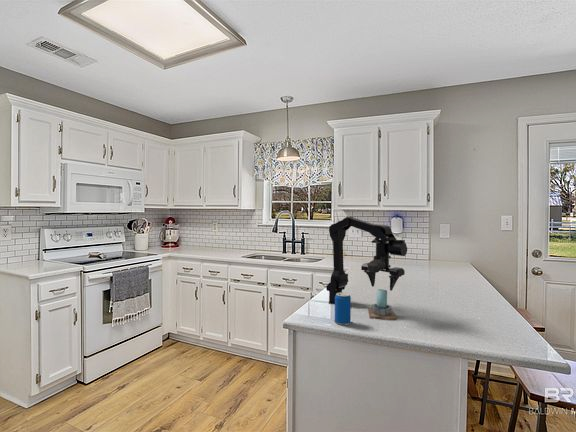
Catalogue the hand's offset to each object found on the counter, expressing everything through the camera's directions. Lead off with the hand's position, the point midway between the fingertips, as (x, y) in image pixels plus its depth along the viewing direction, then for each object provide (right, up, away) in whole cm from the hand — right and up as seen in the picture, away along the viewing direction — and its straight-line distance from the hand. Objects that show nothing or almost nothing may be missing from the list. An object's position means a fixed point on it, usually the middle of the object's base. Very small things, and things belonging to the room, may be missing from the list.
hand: (381, 288), depth 145 cm
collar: (0, -12, 0) cm, 12 cm away
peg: (0, -11, 0) cm, 11 cm away
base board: (0, -12, 0) cm, 12 cm away
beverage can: (-19, -12, -10) cm, 25 cm away
